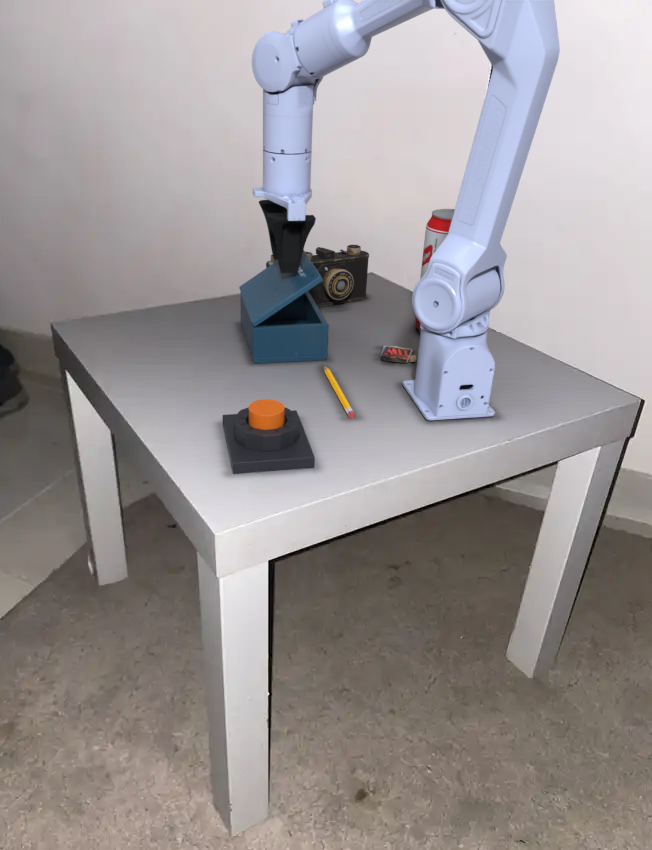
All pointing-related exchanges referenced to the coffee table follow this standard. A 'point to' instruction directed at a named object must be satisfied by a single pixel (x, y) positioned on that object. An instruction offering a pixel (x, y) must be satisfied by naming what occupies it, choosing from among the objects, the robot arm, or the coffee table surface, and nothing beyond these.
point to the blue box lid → (277, 289)
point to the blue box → (288, 333)
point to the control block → (266, 444)
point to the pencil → (339, 393)
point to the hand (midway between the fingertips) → (285, 265)
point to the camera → (338, 275)
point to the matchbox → (397, 354)
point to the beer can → (434, 238)
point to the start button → (266, 414)
